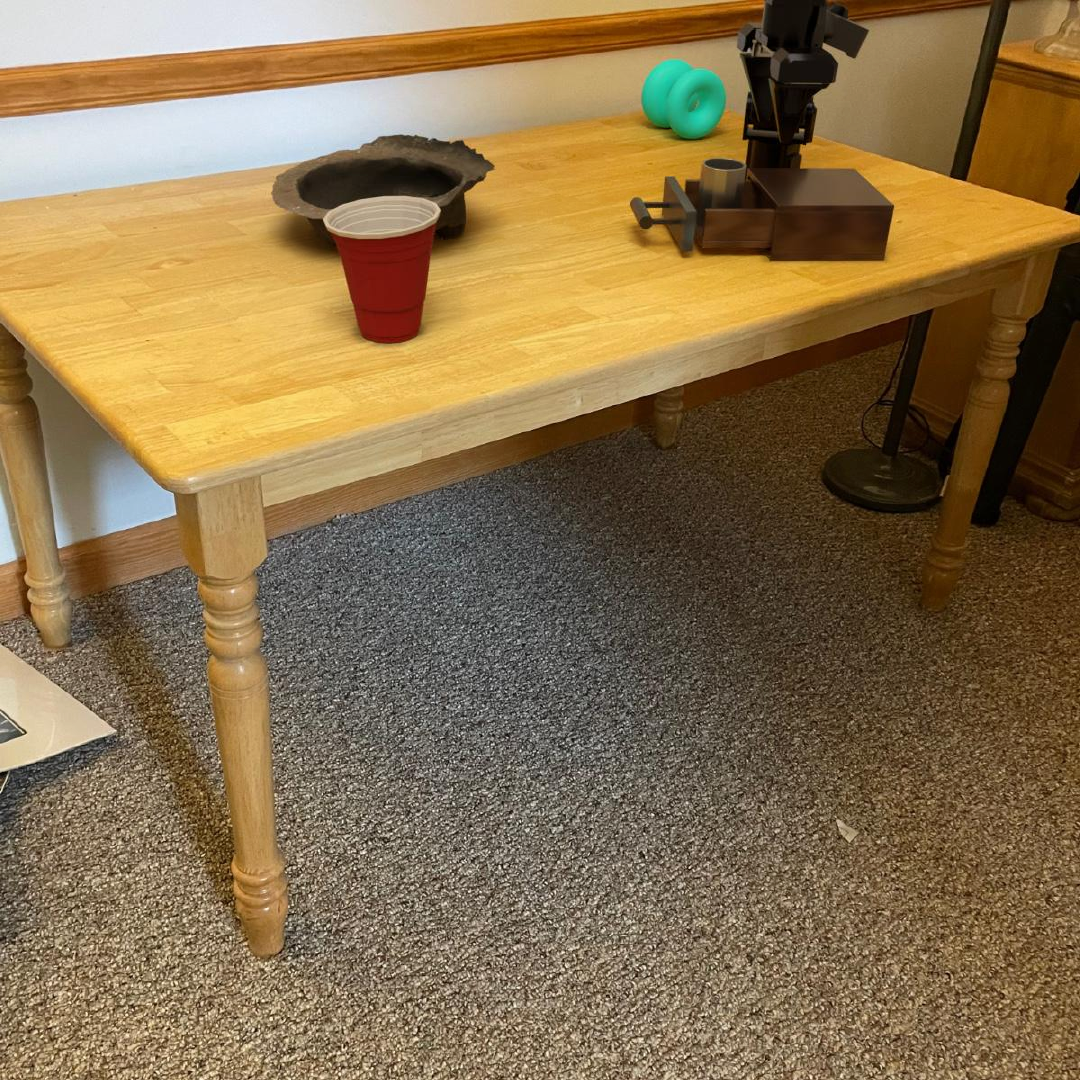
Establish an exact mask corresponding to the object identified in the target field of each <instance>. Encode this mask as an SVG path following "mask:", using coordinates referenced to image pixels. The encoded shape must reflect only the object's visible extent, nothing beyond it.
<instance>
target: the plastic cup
mask: <svg viewBox="0 0 1080 1080" xmlns="http://www.w3.org/2000/svg"><path fill="white" fill-rule="evenodd" d="M440 212H441V210H440V208H439V207H438V205H437V204H436V203H434V202H432V201H429V200H426V199H424V198H417V197H409V196H382V197H375V198H367V199H361V200H357V201H354V202H350V203H346V204H343V205H341V206H339V207H337V208H335V209H333V210H331V211H329V212H328V213H327V214H326V216H325V217H324V218H323V221H324V223H325V226H326V228H327V230H328V231H330V232H331V234H332V236H333V238H334V241H335V246H336V248H337V250H338V253H339V256H340V257H339V258H340V261H341V265H342V269H343V274H344V277H345V281H346V285H347V289H348V293H349V296H350V300H351V303H352V306H353V310H354V314H355V318H356V323H357V327H358V330H359V332H360V334H361V336H362V337H363V338H365V339H366V340H368V341H372V342H376V343H381V344H382V343H385V344H395V343H402V342H405V341H409V340H411V339H413V338H415V337H417V336H418V333H419V332H420V327H421V325H422V320H423V319H422V318H423V311H424V304H425V302H424V301H425V300H426V296H427V288H428V280H429V274H430V273H429V272H430V264H431V256H432V248H433V244H434V238H435V234H434V233H435V226H436V223H437V220H438V218H439V216H440Z"/></svg>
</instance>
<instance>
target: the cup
mask: <svg viewBox="0 0 1080 1080" xmlns="http://www.w3.org/2000/svg"><path fill="white" fill-rule="evenodd" d="M745 163H746V162H743V160H738V159H735V158H728V157H727V158H726V157H711V158H707V159H704V160H702V162H701V167H700V177H699V179H700V185H699V195H698V204H697V214H696V223H697V225H698V226H700V227H702V228H703V222H704V212H705V209H741V206H742V198H743V190H744V182H745V174H746V166H747V165H746V164H745Z"/></svg>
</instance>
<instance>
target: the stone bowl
mask: <svg viewBox="0 0 1080 1080" xmlns="http://www.w3.org/2000/svg"><path fill="white" fill-rule="evenodd" d="M495 167H496V166H495V164H493V163H492V162H491V161H490V160H489V159H486V158H485V156H484V154H483V153H477V148H470V146H468V145H466V144H465V142H464V140H463V139H460V140H455V141H453V142H451V141H446V140H439V139H437V138H435V137H432V138H429V137H426V136H420V135H417V134H414V135H410V134H405V135H404V134H391V135H380V136H378V137H377V138H376V139H374V140H373V141H371V142H366V143H362V144H361V146H360V147H359V148H357V149H339V150H337V151H334V152H331V153H329V154H325V155H320V156H318V157H314V158H312V159H307V160H304V161H301V162H300V163H299V164H297V165H294V166H293V167H290V168H288V169H286V170H285V171H284V172H282V173H279V174H277V175H276V177H275V181H273V182H274V183H273V184H272V190H271V192H270V195H271V196H272V197H271V198H272V201H273V203H274V205H276V206H277V207H279V208H280V209H283V210H284V211H289V213H293V214H295V215H298V216H303V217H305V218H306V219H307V220H308V222H309V223H310V225H311V227H312V228H313V230H314V231H315V233H316V235H317V236H318V237H319V238H320V240H322V241H323V242H324V243H325V244H327V245H330V246H333V245H336V243H335V241H334V238H333V236H332V234H331V232H330V231H328V230H327V228H326V226H325V223H324V221H323V218H324V217H325V216H326V214H327V213H328V212H329V211H331V210H333V209H335V208H337V207H339V206H341V205H343V204H346V203H350V202H354V201H357V200H361V199H367V198H375V197H382V196H409V197H417V198H424V199H426V200H429V201H432V202H434V203H436V204H437V205H438V207H439V208H440V210H441V212H440V216H439V218H438V220H437V223H436V226H435V233H434V236H437V237H438V238H440V239H442V240H443V241H447V240H456V239H459V238H461V237H463V236H464V233H465V231H466V225H467V208H466V207H467V206H466V198H465V196H466V195H465V194H466V193H467V192H469V191H471V190H472V189H473V188H474V187H475V186H476V185H477V184H478V183H480V182H483V181H485V179H486V177H487V173H488V172H492V171H494V170H495Z"/></svg>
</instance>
